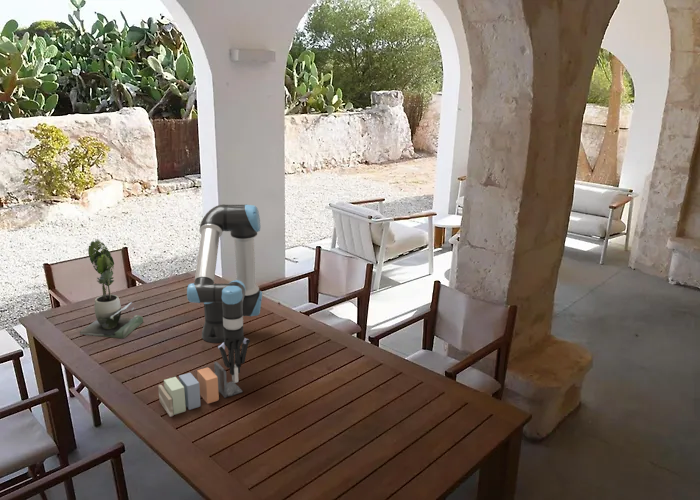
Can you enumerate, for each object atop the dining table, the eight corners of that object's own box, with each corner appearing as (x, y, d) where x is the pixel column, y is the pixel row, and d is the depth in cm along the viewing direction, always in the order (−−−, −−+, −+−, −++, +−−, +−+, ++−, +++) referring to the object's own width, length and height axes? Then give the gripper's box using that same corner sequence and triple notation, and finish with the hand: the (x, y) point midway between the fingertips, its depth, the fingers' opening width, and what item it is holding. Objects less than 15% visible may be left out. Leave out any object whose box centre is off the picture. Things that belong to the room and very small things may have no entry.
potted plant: (143, 321, 283) (135, 234, 270) (123, 338, 265) (114, 246, 252) (102, 318, 286) (92, 231, 272) (79, 334, 268) (68, 242, 255)
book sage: (177, 399, 218) (175, 376, 215) (185, 411, 211) (184, 387, 208) (165, 403, 216) (163, 379, 213) (173, 414, 209) (172, 390, 206)
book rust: (209, 389, 226) (208, 367, 223) (218, 400, 219) (217, 377, 216) (198, 393, 223) (197, 370, 220) (207, 403, 216) (206, 380, 213)
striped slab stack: (204, 387, 227) (204, 372, 225) (216, 401, 218) (216, 385, 216) (159, 401, 217) (158, 385, 215) (170, 416, 208) (168, 399, 205)
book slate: (191, 395, 222) (190, 372, 218) (200, 406, 215) (199, 382, 212) (180, 398, 219) (178, 375, 216) (189, 410, 212) (187, 386, 209)
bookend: (233, 382, 231) (232, 357, 228) (242, 392, 224) (241, 366, 221) (215, 387, 227) (214, 362, 223) (224, 397, 220) (223, 371, 217)
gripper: (244, 319, 226) (246, 372, 232) (213, 326, 218) (215, 381, 225) (253, 325, 220) (254, 380, 227) (221, 333, 212) (223, 389, 219)
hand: (235, 380), depth 226 cm, fingers closed
